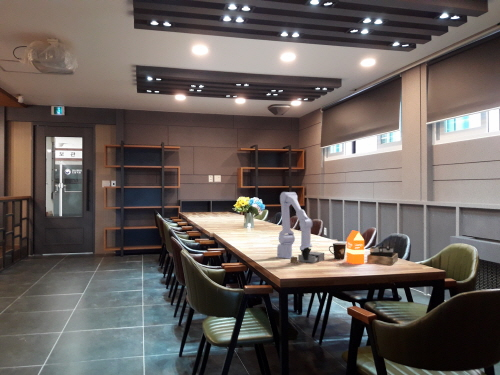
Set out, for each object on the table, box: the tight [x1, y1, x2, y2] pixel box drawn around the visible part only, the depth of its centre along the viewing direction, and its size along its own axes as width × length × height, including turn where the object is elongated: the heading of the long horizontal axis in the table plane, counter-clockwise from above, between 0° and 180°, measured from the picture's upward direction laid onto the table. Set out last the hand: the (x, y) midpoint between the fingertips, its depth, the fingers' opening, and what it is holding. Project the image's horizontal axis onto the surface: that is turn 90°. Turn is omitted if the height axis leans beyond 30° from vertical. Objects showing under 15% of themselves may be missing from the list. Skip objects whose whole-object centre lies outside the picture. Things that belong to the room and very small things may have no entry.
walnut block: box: [289, 256, 298, 264], centre depth 235 cm, size 3×3×4 cm
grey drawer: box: [297, 254, 318, 264], centre depth 242 cm, size 11×10×4 cm
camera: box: [369, 245, 394, 257], centre depth 243 cm, size 15×11×10 cm
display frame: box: [366, 252, 399, 266], centre depth 244 cm, size 15×19×4 cm
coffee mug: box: [328, 242, 347, 261], centre depth 252 cm, size 12×9×10 cm
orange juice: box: [346, 229, 365, 265], centre depth 239 cm, size 8×9×20 cm
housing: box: [300, 251, 325, 263], centre depth 247 cm, size 12×10×4 cm
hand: (305, 260), depth 236 cm, fingers closed
